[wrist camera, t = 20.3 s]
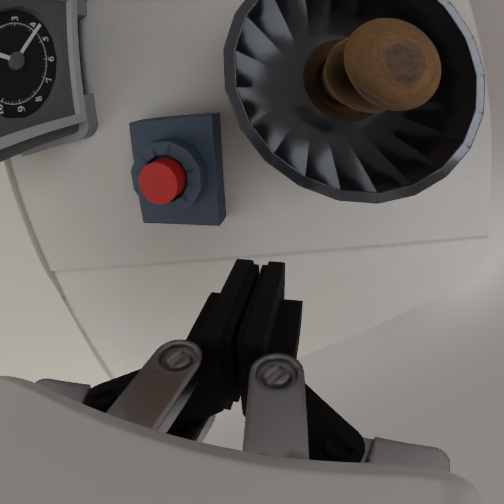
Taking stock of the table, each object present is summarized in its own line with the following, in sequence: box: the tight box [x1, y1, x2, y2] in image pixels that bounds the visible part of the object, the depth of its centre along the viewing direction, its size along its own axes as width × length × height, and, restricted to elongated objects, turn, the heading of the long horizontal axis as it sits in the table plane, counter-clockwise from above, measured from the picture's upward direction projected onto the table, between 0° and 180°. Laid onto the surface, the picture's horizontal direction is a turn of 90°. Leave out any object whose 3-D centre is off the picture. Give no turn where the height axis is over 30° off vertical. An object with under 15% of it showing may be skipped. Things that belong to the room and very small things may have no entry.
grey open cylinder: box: [224, 0, 485, 203], centre depth 17 cm, size 13×13×12 cm
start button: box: [139, 158, 185, 204], centre depth 25 cm, size 4×4×2 cm
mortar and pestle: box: [303, 18, 441, 122], centre depth 14 cm, size 7×6×18 cm
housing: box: [129, 113, 226, 226], centre depth 27 cm, size 10×8×4 cm
